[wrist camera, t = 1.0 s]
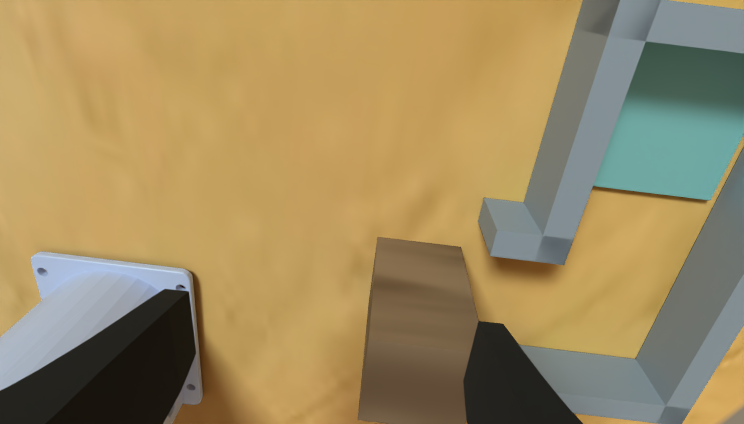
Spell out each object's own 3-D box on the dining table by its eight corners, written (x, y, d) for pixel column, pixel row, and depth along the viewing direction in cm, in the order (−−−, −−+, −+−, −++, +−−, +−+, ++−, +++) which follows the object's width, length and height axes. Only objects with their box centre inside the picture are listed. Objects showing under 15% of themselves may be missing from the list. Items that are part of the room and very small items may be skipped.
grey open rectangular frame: (649, 377, 24) (680, 426, 22) (445, 353, 24) (451, 398, 22) (840, 25, 16) (927, 32, 14) (536, -13, 16) (563, -13, 14)
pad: (706, 197, 20) (710, 200, 19) (570, 180, 20) (572, 183, 19) (777, 54, 17) (783, 54, 17) (619, 34, 17) (622, 35, 17)
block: (445, 312, 23) (462, 432, 17) (368, 303, 23) (357, 420, 17) (460, 247, 21) (486, 354, 15) (377, 236, 21) (369, 339, 15)
